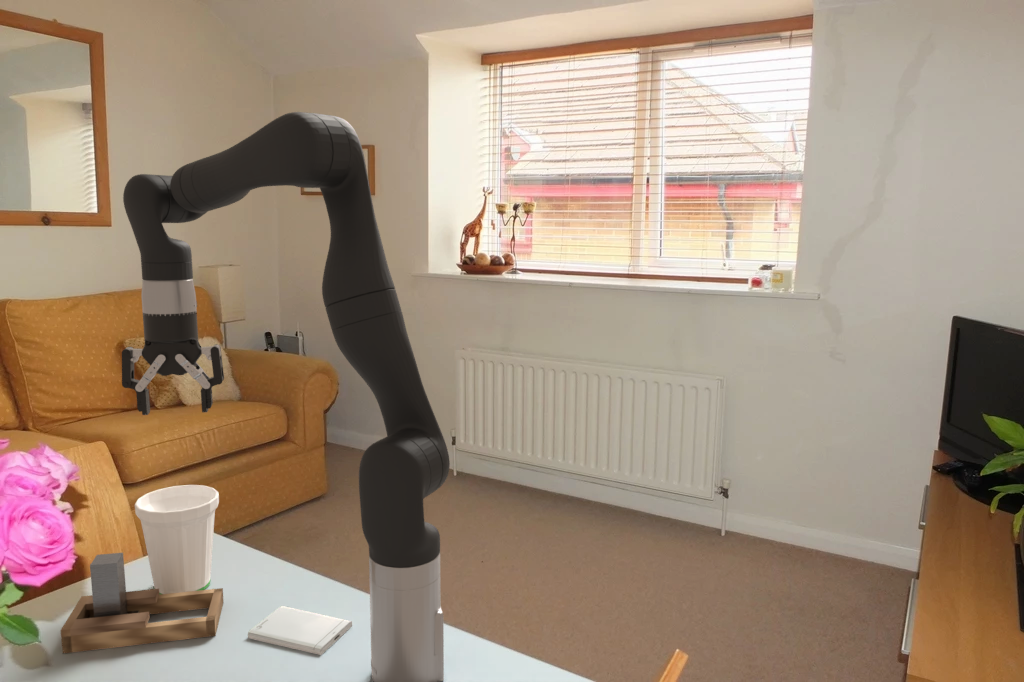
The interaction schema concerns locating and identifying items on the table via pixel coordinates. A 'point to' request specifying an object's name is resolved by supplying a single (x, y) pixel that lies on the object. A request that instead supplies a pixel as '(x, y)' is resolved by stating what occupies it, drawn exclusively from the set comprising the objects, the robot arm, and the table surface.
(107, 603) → the t peg
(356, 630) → the table surface
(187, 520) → the cup
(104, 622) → the rail
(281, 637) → the hard drive
